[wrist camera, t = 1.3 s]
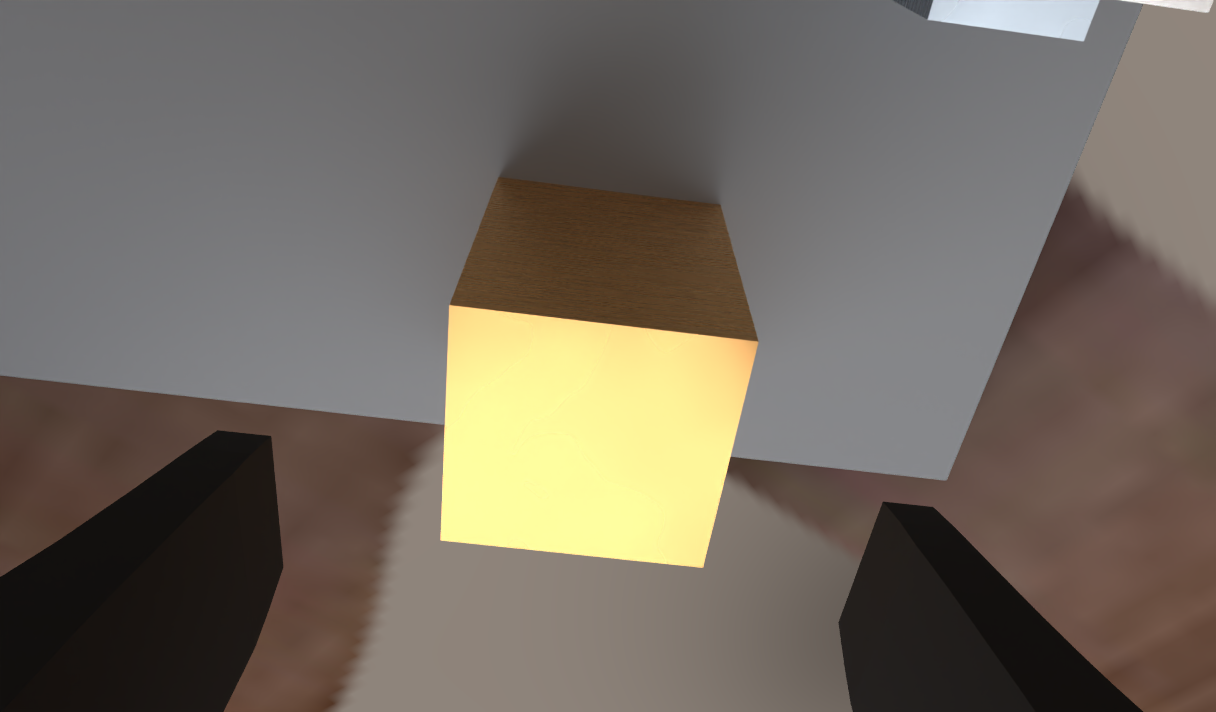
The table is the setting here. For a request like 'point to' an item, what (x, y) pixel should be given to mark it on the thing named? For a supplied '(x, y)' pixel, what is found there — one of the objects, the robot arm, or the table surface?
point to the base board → (534, 151)
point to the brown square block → (594, 374)
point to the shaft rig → (1029, 14)
